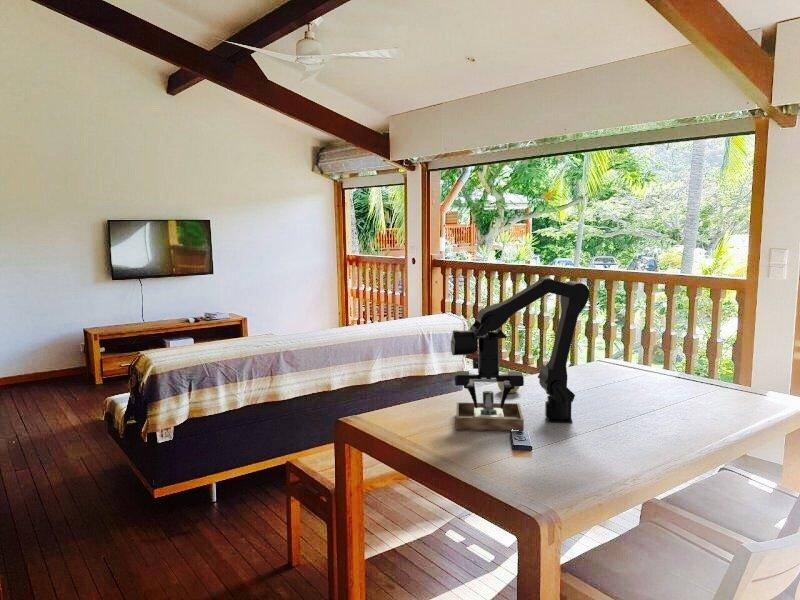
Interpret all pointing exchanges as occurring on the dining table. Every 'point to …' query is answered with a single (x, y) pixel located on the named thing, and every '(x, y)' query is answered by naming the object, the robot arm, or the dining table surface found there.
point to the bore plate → (479, 414)
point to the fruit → (502, 383)
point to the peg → (488, 403)
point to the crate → (506, 424)
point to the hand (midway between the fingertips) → (488, 408)
